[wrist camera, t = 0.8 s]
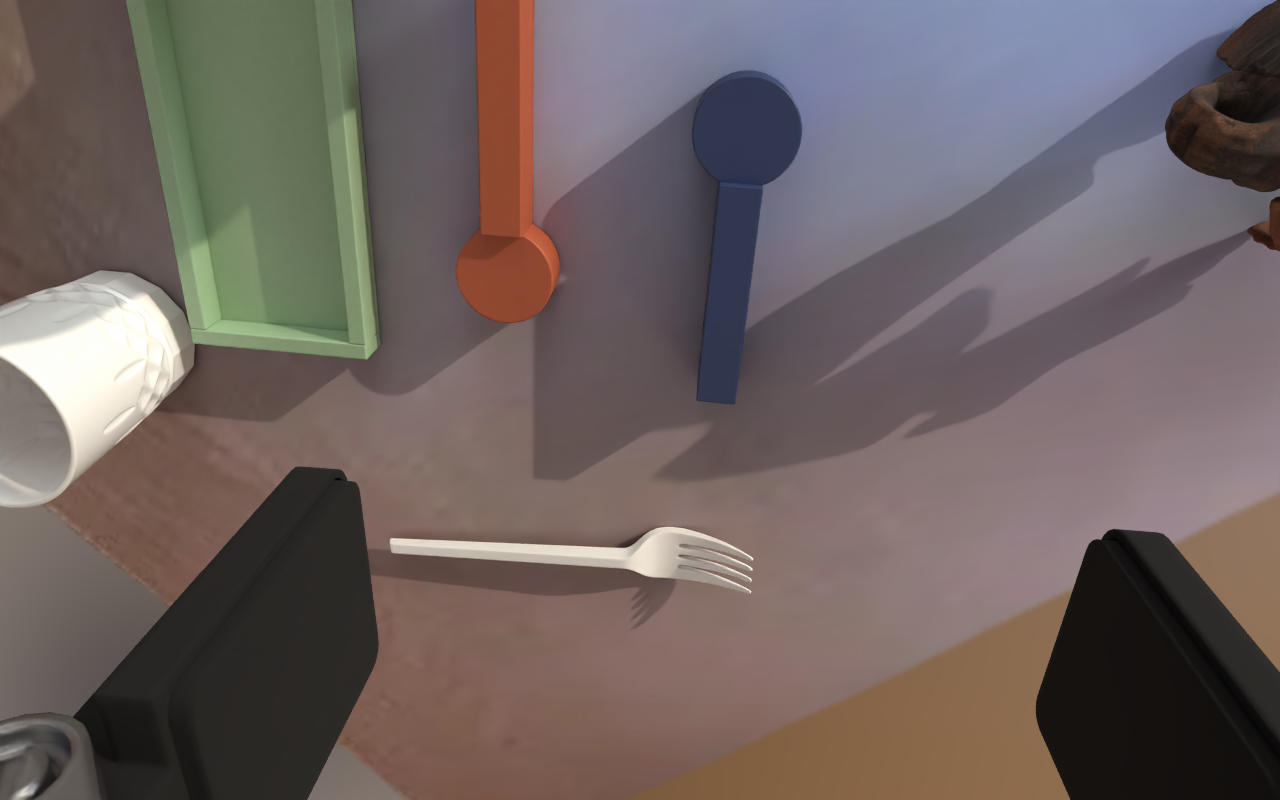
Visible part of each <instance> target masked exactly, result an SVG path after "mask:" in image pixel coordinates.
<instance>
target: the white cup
mask: <svg viewBox="0 0 1280 800" xmlns="http://www.w3.org/2000/svg"><path fill="white" fill-rule="evenodd" d="M194 352H195V344H194V343H193V340H192V335H191V329H190V326H189V324H188V322H187V319H186V317H185V315H184V312H183V311H182V310H181V309H180V308H179V307H178V306H177V305H176V304H175V303H174V302H173V300H172V299H171V298H170V297H169V296H168V295H167V294H166V293H165V292H164V291H163V290H162V289H161V288H159V287H158V286H156V285H154V284H152V283H150V282H148V281H146V280H144V279H142V278H140V277H138V276H136V275H134V274H132V273H126V272H115V271H104V270H100V271H97V272H95V273H92V274H90V275H87V276H85V277H83V278H80V279H78V280H75V281H73V282H70V283H67V284H64V285H61V286H58V287H53V288H46V289H44V290H42V291H39V292H36V293H33V294H30V295H27V296H24V297H21V298H18V299H16V300H13V301H11V302H8V303H6V304H3V305H1V306H0V507H7V508H27V507H33V506H38V505H41V504H44V503H47V502H49V501H51V500H53V499H54V498H56V497H57V496H59V495H60V494H61V493H62V492H63V491H64V490H66V489H67V488H68V487H69V486H70V485H71V484H72V483H73V482H75V481H76V480H77V479H78V478H79V477H80V476H81V475H82V474H84V473H85V472H86V471H87V470H88V469H89V468H90V467H92V466H93V465H94V464H95V463H96V462H97V461H98V460H100V459H101V458H102V457H103V456H104V455H105V454H106V453H108V452H109V451H110V450H111V449H112V448H113V447H114V446H116V445H117V444H118V443H119V442H120V441H121V440H122V439H124V438H125V437H126V436H127V435H128V434H129V433H130V432H131V431H132V430H133V429H135V428H136V427H137V426H138V425H139V424H140V422H141V421H142V420H144V419H145V418H146V417H147V416H148V415H149V414H150V413H151V412H152V411H154V410H155V409H156V407H157V406H158V405H159V404H160V403H161V402H162V400H163V399H164V398H166V397H167V396H168V395H169V394H170V393H171V392H173V391H174V390H175V389H176V388H177V387H178V386H180V384H181V383H182V382H183V380H184V379H185V377H186V376H187V375H188V373H189V372H190V370H191V369H192V368H193V366H194Z"/></svg>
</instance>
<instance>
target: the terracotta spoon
mask: <svg viewBox="0 0 1280 800" xmlns="http://www.w3.org/2000/svg"><path fill="white" fill-rule="evenodd" d="M475 21H476V63H477V104H478V146H479V187H480V229H479V230H478V231H477V232H476V233H475V235H474V236H473V237H472V238H471V239H470V240H469V241H468V242H467V243H466V244H465V245H464V247H463V248H462V250H461V252H460V254H459V257H458V260H457V265H456V278H457V283H458V286H459V289H460V291H461V293H462V295H463V297H464V298H465V300H466V301H467V303H468V304H469V305H470V306H471V307H472V308H473V309H474V310H475V311H477V312H478V313H479V314H481V315H483V316H484V317H486V318H488V319H491V320H494V321H497V322H503V323H516V322H521V321H524V320H527V319H529V318H531V317H533V316H535V315H536V314H537V313H539V312H540V311H541V310H542V309H543V307H544V306H545V305H546V303H547V302H548V300H549V298H550V296H551V294H552V292H553V290H554V288H555V286H556V284H557V282H558V278H559V273H560V262H559V257H558V253H557V250H556V248H555V246H554V244H553V243H552V241H551V240H550V238H549V237H548V236H547V235H546V234H545V233H544V232H543V231H542V230H541V229H540V228H538V227H537V226H535V225H533V224H532V222H533V21H534V0H475Z"/></svg>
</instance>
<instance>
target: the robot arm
mask: <svg viewBox="0 0 1280 800" xmlns="http://www.w3.org/2000/svg"><path fill="white" fill-rule="evenodd" d="M377 653H378V632H377V624H376V616H375V608H374V600H373V592H372V584H371V576H370V568H369V561H368V553H367V545H366V537H365V529H364V521H363V513H362V505H361V497H360V491H359V487H358V485H357V483H355V482H352V481H347V478H346V476H345V474H344V472H343V471H341V470H339V469H326V468H313V467H295V468H294V469H293V470H291V471H290V473H289V474H288V475H287V476H286V477H285V478H284V479H283V480H282V482H281V483H280V484H279V485H278V486H277V487H276V488H275V490H274V491H273V492H272V493H271V494H270V495H269V496H268V497H267V499H266V500H265V501H264V502H263V503H262V504H261V505H260V507H259V508H258V509H257V510H256V511H255V512H254V513H253V514H252V516H251V517H250V518H249V519H248V520H247V521H246V522H245V524H244V525H243V526H242V527H241V528H240V529H239V530H238V531H237V533H236V534H235V535H234V536H233V537H232V538H231V539H230V540H229V542H228V543H227V544H226V545H225V546H224V547H223V548H222V550H221V551H220V552H219V553H218V554H217V555H216V556H215V557H214V559H213V560H212V561H211V562H210V563H209V564H208V565H207V567H206V568H205V569H204V570H203V571H202V572H201V573H200V574H199V575H198V576H197V577H196V578H195V580H194V581H193V582H192V583H191V584H190V585H189V586H188V587H187V589H186V590H185V591H184V592H183V593H182V594H181V595H180V596H179V598H178V599H177V600H176V601H175V602H174V603H173V604H172V606H171V607H170V608H169V609H168V610H167V611H166V612H165V614H164V615H163V616H162V617H161V618H160V619H159V620H158V621H157V623H156V624H155V625H154V626H153V627H152V628H151V629H150V630H149V632H148V633H147V634H146V635H145V636H144V637H143V639H142V640H141V641H140V642H139V643H138V644H137V645H136V646H135V647H134V649H133V650H132V651H131V652H130V653H129V654H128V655H127V656H126V658H125V659H124V660H123V661H122V662H121V663H120V664H119V665H118V667H117V668H116V669H115V670H114V671H113V672H112V673H111V675H110V676H109V677H108V678H107V679H106V680H105V681H104V682H103V684H102V685H101V686H100V687H99V688H98V689H97V690H96V692H95V693H94V694H93V695H92V696H91V697H90V698H89V699H88V701H87V702H86V703H85V704H84V705H83V706H82V707H81V708H80V710H79V711H78V712H77V713H76V714H75V715H74V716H73V717H71V716H68V715H62V714H57V713H51V712H47V713H34V714H24V715H20V716H17V717H13V718H9V719H6V720H2V721H0V800H307V799H308V797H309V795H310V793H311V791H312V789H313V787H314V785H315V783H316V781H317V779H318V777H319V775H320V773H321V771H322V769H323V767H324V765H325V763H326V761H327V759H328V757H329V755H330V753H331V751H332V749H333V747H334V745H335V743H336V741H337V739H338V737H339V735H340V733H341V731H342V729H343V727H344V725H345V723H346V722H347V720H348V718H349V716H350V714H351V712H352V710H353V708H354V706H355V704H356V702H357V700H358V698H359V696H360V694H361V692H362V690H363V688H364V686H365V684H366V682H367V680H368V678H369V676H370V674H371V672H372V670H373V667H374V665H375V662H376V658H377ZM1036 717H1037V722H1038V726H1039V729H1040V732H1041V734H1042V736H1043V738H1044V741H1045V743H1046V745H1047V747H1048V750H1049V752H1050V754H1051V756H1052V759H1053V761H1054V763H1055V765H1056V768H1057V770H1058V772H1059V774H1060V777H1061V779H1062V781H1063V784H1064V786H1065V788H1066V791H1067V793H1068V795H1069V797H1070V800H1280V672H1279V671H1278V670H1277V668H1276V667H1275V666H1274V665H1273V664H1272V663H1271V661H1270V660H1269V659H1268V658H1267V657H1266V655H1265V654H1264V653H1263V652H1262V650H1261V649H1260V648H1259V647H1258V646H1257V644H1256V643H1255V642H1254V641H1253V640H1252V638H1251V637H1250V636H1249V635H1248V634H1247V632H1246V631H1245V630H1244V629H1243V628H1242V626H1241V625H1240V624H1239V623H1238V622H1237V620H1236V619H1235V618H1234V617H1233V615H1232V614H1231V613H1230V612H1229V611H1228V609H1227V608H1226V607H1225V606H1224V605H1223V604H1222V602H1221V601H1220V600H1219V599H1218V597H1217V596H1216V595H1215V594H1214V593H1213V591H1212V590H1211V589H1210V588H1209V587H1208V585H1207V584H1206V583H1205V582H1204V581H1203V580H1202V578H1201V577H1200V576H1199V574H1198V573H1197V572H1196V571H1195V570H1194V568H1193V567H1192V566H1191V565H1190V564H1189V562H1188V561H1187V560H1186V559H1185V558H1184V557H1183V555H1182V554H1181V553H1180V552H1179V550H1178V549H1177V548H1176V547H1175V546H1174V544H1173V543H1172V542H1171V541H1170V540H1169V538H1167V537H1166V536H1165V535H1164V534H1161V533H1157V532H1145V531H1132V530H1119V529H1112V530H1109V531H1107V533H1106V534H1105V535H1104V536H1103V538H1102V540H1098V539H1096V540H1093V541H1092V542H1091V543H1090V544H1089V545H1088V547H1087V550H1086V552H1085V555H1084V558H1083V561H1082V564H1081V567H1080V570H1079V573H1078V576H1077V579H1076V582H1075V585H1074V588H1073V591H1072V594H1071V597H1070V600H1069V603H1068V607H1067V609H1066V612H1065V615H1064V618H1063V621H1062V624H1061V627H1060V630H1059V633H1058V636H1057V640H1056V642H1055V645H1054V648H1053V651H1052V654H1051V658H1050V660H1049V663H1048V666H1047V669H1046V672H1045V675H1044V678H1043V681H1042V684H1041V687H1040V690H1039V693H1038V696H1037V701H1036Z"/></svg>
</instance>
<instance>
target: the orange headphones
mask: <svg viewBox="0 0 1280 800" xmlns="http://www.w3.org/2000/svg"><path fill="white" fill-rule="evenodd" d="M1217 56H1218V57H1219V58H1220V59H1222V60H1224V61H1226V62H1227V65H1228V66H1229V67H1230V68H1232V69H1233V71H1234V72H1230V73H1227V74H1224V75H1222V76H1220V77H1218V78H1217V79H1215V80H1213V81H1212V82H1211V83H1208V84H1205V85H1202V86H1197V87H1195V88H1193V89H1191V90H1190V91H1189V92H1188V93H1187V94H1185V95H1184V96H1182V97H1181V98H1180V99H1178V100H1177V101H1176V102H1175V103H1174V105H1173V107H1172V109H1171V112H1170V115H1169V116H1168V118H1167V120H1166V123H1165V130H1166V139H1167V143H1168V146H1169V148H1170V149H1171V151H1172V152H1173V153H1174V154H1175V156H1177V157H1178V158H1179V159H1180V160H1181V161H1182V162H1183V163H1184V164H1186V165H1187V166H1189V167H1191V168H1192V169H1194V170H1196V171H1198V172H1201V173H1204V174H1206V175H1209V176H1214V177H1218V178H1222V179H1230V180H1232V181H1233V182H1234V183H1235V184H1236V185H1238V186H1242V187H1247V188H1250V189H1254V190H1256V191H1260V192H1270V191H1275V190H1277V189H1279V188H1280V0H1277V1H1275V2H1273V3H1272V4H1270V5H1267V6H1266V7H1264V8H1263V9H1261V10H1260V11H1259V12H1257V13H1256V14H1254V15H1253V16H1251V17H1250V18H1249V19H1248V20H1247V21H1246V22H1245V23H1244V24H1243V25H1242V26H1241V27H1240V28H1239V29H1237V30H1236V31H1235V32H1234V33H1233V34H1232V35H1231V36H1230V37H1229V38H1228V39H1227V40H1226V41H1225V42H1224V43H1223V44H1222V45H1221V47H1220V48H1219V49H1218V50H1217ZM1247 232H1248V233H1249V234H1250V235H1252V237H1253V239H1254V241H1256V242H1258V243H1262V244H1264V245H1266V246H1267V247H1268V248H1269V249H1271V250H1277V251H1280V197H1276V198H1274V199H1273V200H1272V201H1271V203H1270V220H1269V221H1266V222H1262V223H1259V224H1256V225H1254V226H1252V227H1250V228H1249V229H1248V230H1247Z"/></svg>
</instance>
